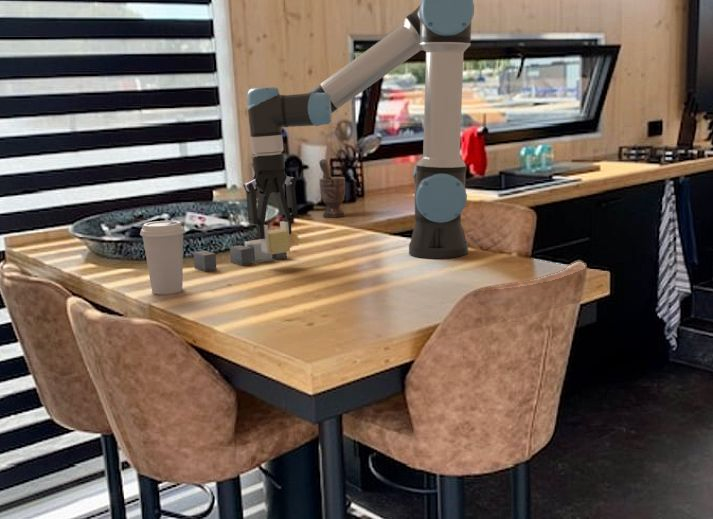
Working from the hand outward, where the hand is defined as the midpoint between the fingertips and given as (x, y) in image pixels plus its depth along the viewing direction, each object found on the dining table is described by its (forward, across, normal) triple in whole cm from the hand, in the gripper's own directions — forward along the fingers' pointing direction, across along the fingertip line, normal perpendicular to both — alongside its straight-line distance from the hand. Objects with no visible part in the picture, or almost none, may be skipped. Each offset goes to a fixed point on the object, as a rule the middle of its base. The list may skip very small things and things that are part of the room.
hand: (276, 249), depth 206 cm
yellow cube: (0, 0, 0) cm, 0 cm away
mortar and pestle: (+5, -57, -60) cm, 83 cm away
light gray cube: (+4, -1, -12) cm, 12 cm away
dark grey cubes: (+4, +4, -12) cm, 13 cm away
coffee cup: (+4, +31, +4) cm, 31 cm away
